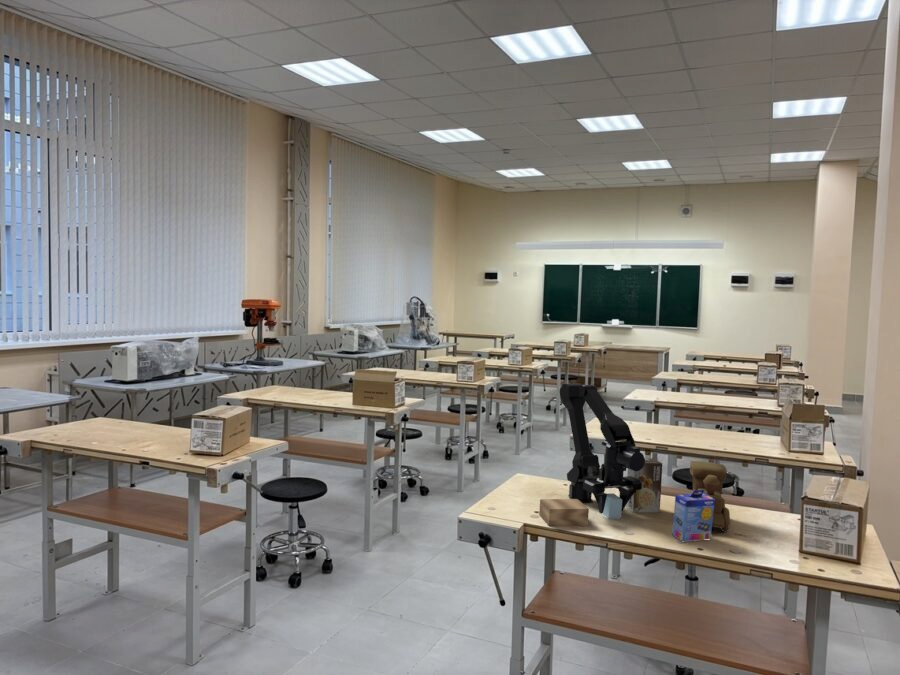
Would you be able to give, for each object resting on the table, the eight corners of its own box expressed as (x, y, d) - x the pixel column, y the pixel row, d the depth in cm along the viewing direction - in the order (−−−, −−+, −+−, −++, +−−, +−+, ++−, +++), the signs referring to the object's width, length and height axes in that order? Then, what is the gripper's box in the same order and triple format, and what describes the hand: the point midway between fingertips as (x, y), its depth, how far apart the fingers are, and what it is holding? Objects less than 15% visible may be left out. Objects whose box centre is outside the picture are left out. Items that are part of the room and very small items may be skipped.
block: (612, 512, 196) (613, 493, 196) (621, 518, 190) (622, 499, 190) (600, 512, 196) (602, 493, 195) (608, 518, 190) (610, 499, 189)
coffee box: (651, 506, 204) (655, 458, 203) (660, 513, 197) (663, 463, 197) (624, 506, 203) (627, 457, 202) (632, 512, 196) (635, 462, 196)
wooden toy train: (684, 509, 202) (687, 459, 201) (721, 515, 199) (725, 463, 198) (688, 530, 183) (692, 475, 182) (730, 536, 180) (735, 480, 179)
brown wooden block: (576, 514, 192) (577, 498, 191) (587, 525, 183) (588, 508, 183) (539, 515, 190) (540, 499, 189) (548, 526, 181) (549, 509, 181)
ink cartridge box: (683, 543, 173) (687, 492, 172) (670, 535, 178) (674, 486, 177) (712, 540, 176) (716, 490, 175) (699, 533, 181) (703, 484, 180)
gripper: (620, 454, 203) (617, 501, 204) (573, 457, 195) (570, 506, 196) (644, 463, 193) (641, 512, 194) (596, 467, 185) (592, 518, 186)
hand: (610, 511), depth 193 cm, fingers open, 7 cm apart
